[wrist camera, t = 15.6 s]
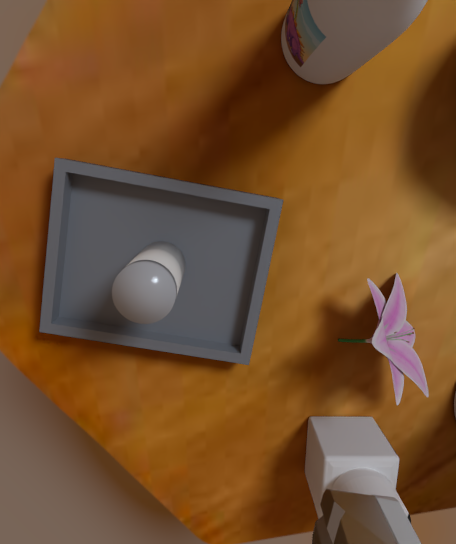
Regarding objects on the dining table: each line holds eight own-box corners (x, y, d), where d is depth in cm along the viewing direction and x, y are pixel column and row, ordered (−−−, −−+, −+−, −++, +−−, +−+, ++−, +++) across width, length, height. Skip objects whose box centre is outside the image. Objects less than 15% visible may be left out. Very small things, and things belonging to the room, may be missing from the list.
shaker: (189, 245, 40) (180, 269, 30) (181, 291, 41) (170, 328, 31) (141, 237, 40) (116, 257, 30) (134, 283, 41) (108, 318, 31)
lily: (396, 385, 46) (479, 399, 38) (307, 401, 41) (379, 422, 33) (385, 276, 47) (463, 266, 39) (297, 280, 42) (364, 268, 34)
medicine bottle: (366, 472, 47) (416, 569, 36) (303, 472, 47) (332, 570, 35) (373, 415, 46) (427, 497, 34) (307, 415, 46) (339, 497, 34)
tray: (278, 198, 40) (283, 200, 37) (246, 352, 44) (248, 364, 41) (67, 159, 39) (55, 157, 36) (51, 321, 42) (39, 331, 39)
